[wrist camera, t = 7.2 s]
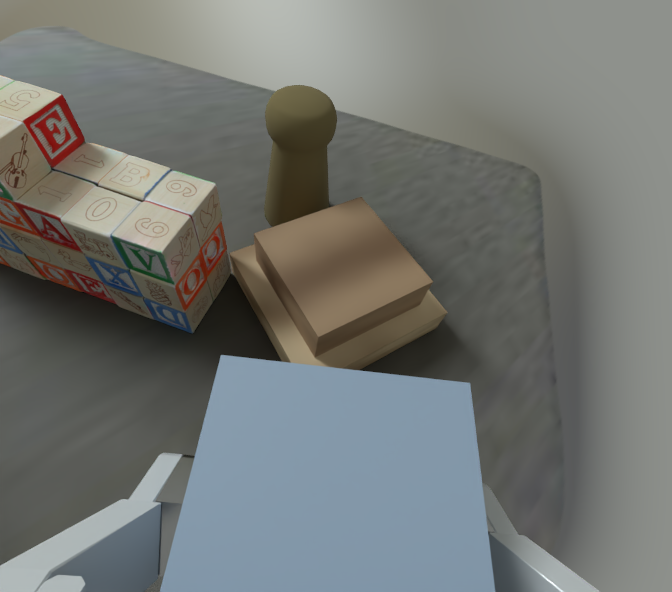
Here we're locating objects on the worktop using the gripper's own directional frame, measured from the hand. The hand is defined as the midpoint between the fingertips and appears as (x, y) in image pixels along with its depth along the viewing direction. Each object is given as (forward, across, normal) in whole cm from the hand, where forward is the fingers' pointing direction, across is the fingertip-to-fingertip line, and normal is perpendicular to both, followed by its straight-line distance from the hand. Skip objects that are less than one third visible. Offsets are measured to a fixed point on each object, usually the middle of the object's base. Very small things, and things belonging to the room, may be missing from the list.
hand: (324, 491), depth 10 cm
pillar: (+3, 0, -4) cm, 5 cm away
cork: (+28, -4, +6) cm, 29 cm away
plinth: (+22, +1, 0) cm, 22 cm away
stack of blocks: (+22, -19, +1) cm, 29 cm away
